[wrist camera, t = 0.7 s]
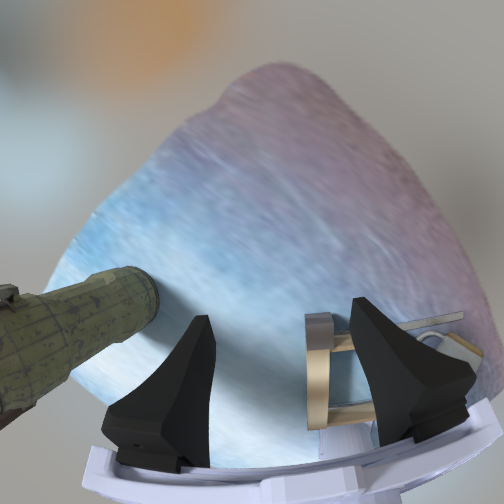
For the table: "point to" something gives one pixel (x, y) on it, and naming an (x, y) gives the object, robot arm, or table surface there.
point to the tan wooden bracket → (327, 375)
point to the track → (403, 326)
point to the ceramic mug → (457, 348)
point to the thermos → (66, 331)
